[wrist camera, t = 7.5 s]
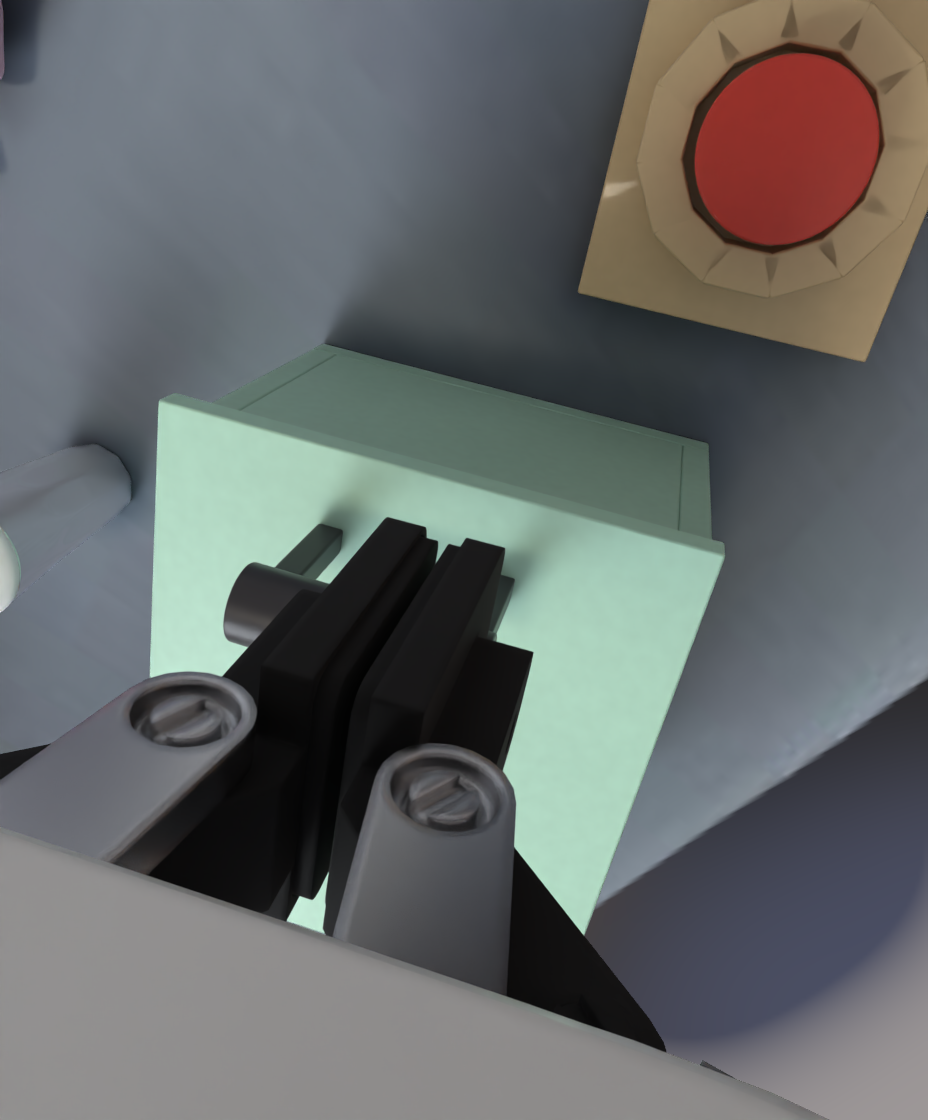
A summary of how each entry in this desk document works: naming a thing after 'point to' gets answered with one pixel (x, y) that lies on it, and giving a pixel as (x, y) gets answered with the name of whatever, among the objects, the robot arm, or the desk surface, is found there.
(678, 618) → the hinged box lid
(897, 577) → the desk surface
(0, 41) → the rabbit figure
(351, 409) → the green lidded box
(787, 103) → the release button
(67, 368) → the desk surface
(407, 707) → the robot arm
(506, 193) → the desk surface
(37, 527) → the milkshake
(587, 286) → the button box
